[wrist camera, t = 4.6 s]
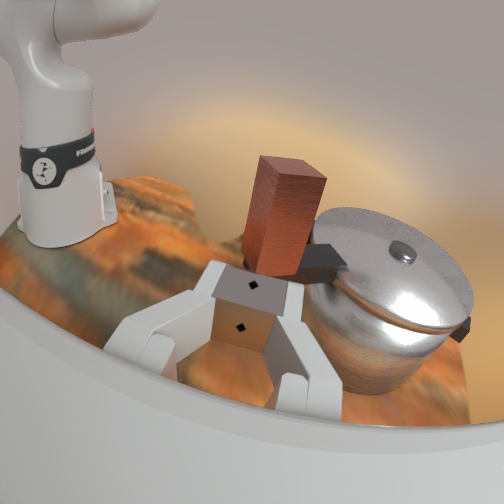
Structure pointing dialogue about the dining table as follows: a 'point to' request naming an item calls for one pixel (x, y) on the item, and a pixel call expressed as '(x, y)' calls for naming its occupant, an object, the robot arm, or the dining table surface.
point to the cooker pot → (366, 341)
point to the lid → (351, 252)
